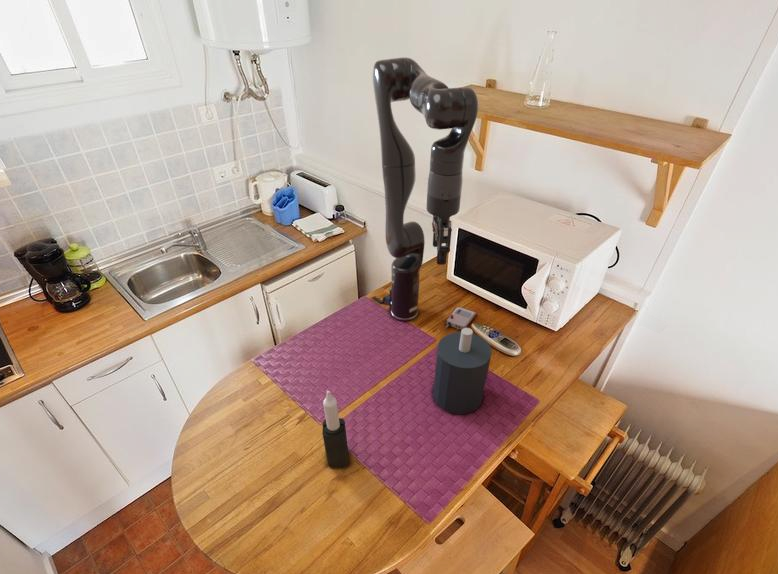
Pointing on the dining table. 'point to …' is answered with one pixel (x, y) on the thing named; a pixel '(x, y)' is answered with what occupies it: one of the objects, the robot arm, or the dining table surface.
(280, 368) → the dining table surface
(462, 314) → the grey handheld device
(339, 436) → the candle
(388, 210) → the robot arm
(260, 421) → the dining table surface
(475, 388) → the grey canister with knob
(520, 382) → the dining table surface
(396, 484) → the dining table surface
